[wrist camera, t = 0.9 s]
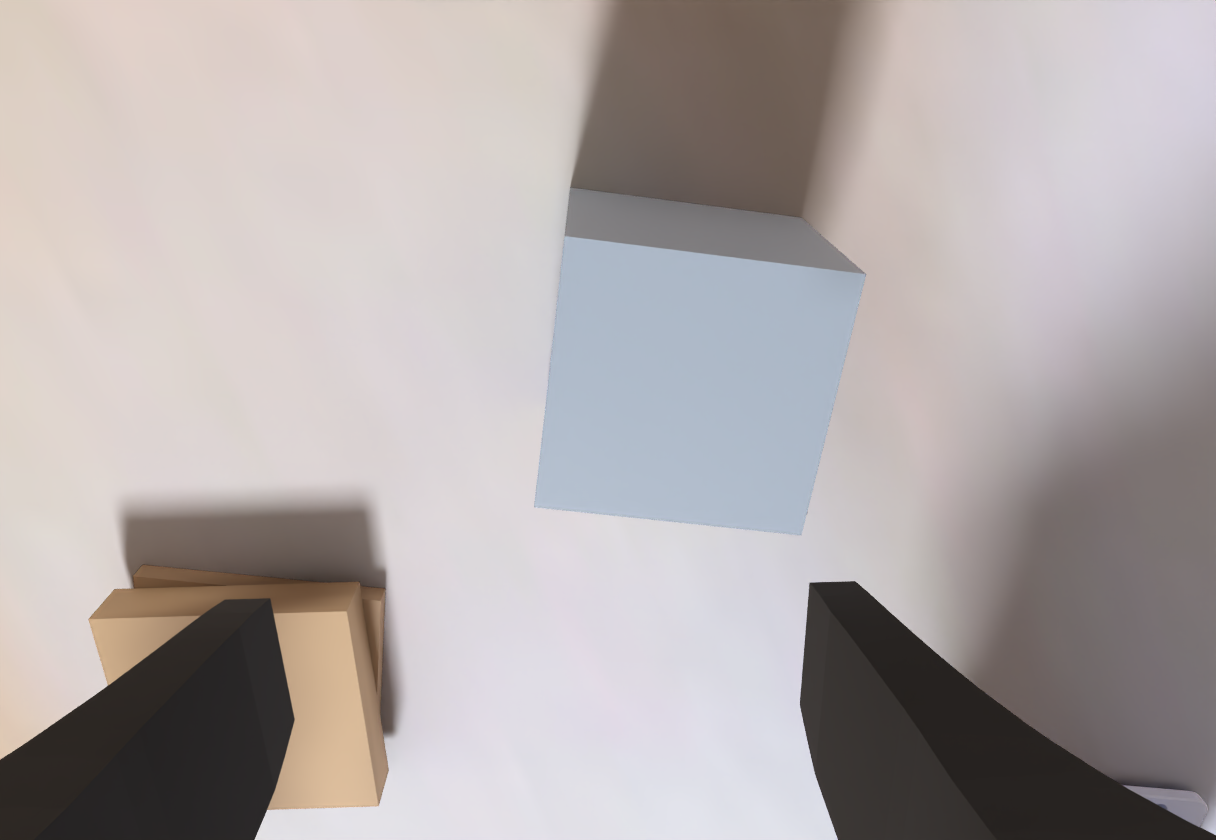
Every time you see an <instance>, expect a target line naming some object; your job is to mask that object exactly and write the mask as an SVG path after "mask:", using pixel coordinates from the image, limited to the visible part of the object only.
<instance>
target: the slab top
mask: <svg viewBox="0 0 1216 840" xmlns="http://www.w3.org/2000/svg"><path fill="white" fill-rule="evenodd" d="M260 598H270V599H271V604H272V609H273V614H274V619H275V624H276V629H277V634H278V639H279V644H280V649H281V654H282V659H283V664H284V668H285V673H286V678H287V683H288V688H289V693H290V698H291V703H292V708H293V713H294V718H295V721H294V725H293V728H292V732H291V736H290V740H289V743H288V747H287V751H286V755H285V758H284V762H283V765H282V769H281V772H280V775H279V779H278V782H277V785H276V789H275V792H274V794H273V797H272V799H271V801H270V804H269V806H268V809H267V810H274V809H306V808H337V807H369V806H379V803H380V799H381V796H382V792H383V789H384V785H385V781H386V778H387V774H388V771H389V769H388V763H387V756H386V750H385V743H384V737H383V731H382V724H381V718H380V711H379V705H378V698H377V692H376V685H375V679H374V672H373V666H372V659H371V653H370V646H369V640H368V633H367V627H366V621H365V614H364V608H363V601H362V595H361V588H360V582H333V583H300V584H267V585H234V586H201V587H169V588H136V589H114V590H113V592H112V593H111V594H110V595H109V596H108V597H107V598H106V600H105V601H104V602H103V603H102V604H101V605H100V607H99V608H98V609H97V610H96V611H95V612H94V613H93V615H92V616H91V617H90V618H89V623H90V626H91V630H92V633H93V636H94V640H95V643H96V646H97V650H98V653H99V657H100V660H101V663H102V667H103V670H104V673H105V677H106V680H107V684H108V685H110V684H111V683H112V682H114V681H115V680H116V679H118V678H119V677H120V676H122V675H123V674H124V673H126V672H127V671H128V670H130V669H131V668H132V667H134V666H135V665H136V664H138V663H139V662H140V661H142V660H143V659H144V658H146V657H147V656H148V655H150V654H151V653H152V652H154V651H155V650H156V649H158V648H159V647H160V646H162V645H163V644H164V643H165V642H167V641H168V640H169V639H171V638H172V637H173V636H175V635H176V634H177V633H179V632H180V631H181V630H183V629H184V628H185V627H187V626H188V625H189V624H191V623H192V622H193V621H195V620H196V619H197V618H199V617H200V616H201V615H203V614H204V613H205V612H207V611H208V610H210V609H211V608H213V607H214V606H216V605H217V604H219V603H220V602H222V601H223V600H225V599H260Z"/></svg>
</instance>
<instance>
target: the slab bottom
mask: <svg viewBox="0 0 1216 840" xmlns="http://www.w3.org/2000/svg"><path fill="white" fill-rule="evenodd" d="M133 582H134V589H136V588H169V587H201V586H234V585H267V584H300V583H324V582H314V581H303V580H293V579H283V578H273V577H263V576H252V575H242V574H232V573H222V572H212V571H201V570H191V569H181V568H171V567H161V566H150V565H142V566H141V567H140V568H139V570H138V571H137V572H136V573H135V574H134V575H133ZM360 588H361V595H362V601H363V608H364V614H365V621H366V627H367V633H368V640H369V646H370V653H371V659H372V666H373V672H374V679H375V685H376V692H377V698H378V705H379V711H380V709H381V685H382V660H383V636H384V612H385V588H375V587H364V586H360Z"/></svg>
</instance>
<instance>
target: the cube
mask: <svg viewBox="0 0 1216 840" xmlns="http://www.w3.org/2000/svg"><path fill="white" fill-rule="evenodd" d="M865 277H866V274H865V273H864V272H863V271H862V270H861V269H860V268H858V267H857V266H856V265H855V264H854V263H853V262H852V261H850V260H849V259H848V258H847V257H846V256H845V255H844V254H842V253H841V252H840V251H839V250H838V249H837V248H836V247H834V246H833V245H832V244H831V243H830V242H829V241H828V240H826V239H825V238H824V237H823V236H822V235H821V234H820V233H818V232H817V231H816V230H815V229H814V228H813V227H812V226H810V225H809V224H808V223H807V222H806V221H805V220H804V219H802V218H801V217H793V216H785V215H778V214H770V213H762V212H755V211H747V210H739V209H732V208H724V207H716V206H709V205H701V204H693V203H686V202H678V201H671V200H663V199H655V198H648V197H640V196H632V195H625V194H617V193H609V192H602V191H594V190H586V189H579V188H571V187H570V194H569V203H568V212H567V220H566V229H565V238H564V247H563V256H562V265H561V273H560V282H559V291H558V300H557V309H556V318H555V327H554V336H553V344H552V353H551V362H550V371H549V380H548V389H547V398H546V407H545V415H544V424H543V433H542V442H541V451H540V460H539V469H538V478H537V486H536V495H535V504H534V507H537V508H546V509H556V510H565V511H575V512H584V513H594V514H603V515H613V516H622V517H632V518H641V519H651V520H660V521H670V522H679V523H689V524H698V525H707V526H717V527H726V528H736V529H745V530H755V531H764V532H774V533H783V534H793V535H802V531H803V526H804V522H805V518H806V514H807V510H808V506H809V502H810V498H811V494H812V490H813V486H814V482H815V478H816V474H817V470H818V466H819V462H820V458H821V454H822V450H823V446H824V442H825V438H826V434H827V430H828V426H829V422H830V418H831V414H832V410H833V406H834V402H835V398H836V394H837V390H838V386H839V382H840V378H841V373H842V369H843V365H844V361H845V357H846V353H847V349H848V345H849V341H850V337H851V333H852V329H853V325H854V321H855V317H856V313H857V309H858V305H859V301H860V297H861V293H862V289H863V285H864V281H865Z"/></svg>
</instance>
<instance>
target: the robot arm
mask: <svg viewBox="0 0 1216 840" xmlns="http://www.w3.org/2000/svg"><path fill="white" fill-rule="evenodd" d="M800 707H801V712H802V717H803V722H804V726H805V731H806V736H807V741H808V745H809V749H810V754H811V758H812V762H813V767H814V771H815V775H816V778H817V781H818V784H819V787H820V790H821V792H822V795H823V798H824V801H825V804H826V807H827V809H828V812H829V815H830V818H831V821H832V824H833V827H834V829H835V832H836V835H837V838H838V840H1216V835H1214V834H1212V833H1210V832H1208V831H1206V830H1204V829H1202V828H1200V826H1201V824H1202V822H1203V820H1204V818H1205V816H1206V814H1207V811H1208V807H1207V804H1206V803H1205V801H1204V800H1203V799H1202V798H1201V796H1200V795H1198V794H1197V793H1196V792H1192V791H1184V790H1173V789H1161V788H1150V787H1138V786H1127V785H1121V784H1119V783H1118V782H1116V781H1114V780H1113V779H1111V778H1109V777H1107V776H1106V775H1104V774H1102V773H1101V772H1099V771H1097V770H1096V769H1094V768H1093V767H1091V766H1090V765H1088V764H1087V763H1085V762H1083V761H1082V760H1080V759H1079V758H1077V757H1076V756H1074V755H1073V754H1071V753H1069V752H1068V751H1066V750H1065V749H1063V748H1062V747H1060V746H1059V745H1057V744H1055V743H1054V742H1052V741H1051V740H1049V739H1048V738H1046V737H1045V736H1043V735H1042V734H1040V733H1039V732H1038V731H1036V730H1035V729H1033V728H1032V727H1030V726H1029V725H1027V724H1026V723H1025V722H1023V721H1022V720H1021V719H1019V718H1018V717H1017V716H1015V715H1014V714H1013V713H1011V712H1010V711H1009V710H1007V709H1006V708H1005V707H1003V706H1002V705H1000V704H999V703H998V702H996V701H995V700H994V699H992V698H991V697H990V696H988V695H987V694H986V693H984V692H983V691H982V690H981V689H979V688H978V687H977V686H976V685H974V684H973V683H972V682H971V681H969V680H968V679H967V678H966V677H964V676H963V675H962V674H961V673H959V672H958V671H957V670H956V669H955V668H953V667H952V666H951V665H950V664H948V663H947V662H946V661H945V660H944V659H943V658H941V657H940V656H939V655H938V654H937V653H935V652H934V651H933V650H932V649H931V648H930V647H929V646H927V645H926V644H925V643H924V642H923V641H922V640H920V639H919V638H918V637H917V636H916V635H915V634H914V633H913V632H911V631H910V630H909V629H908V628H907V627H906V626H905V625H904V624H902V623H901V622H900V621H899V620H898V619H897V618H896V617H895V616H894V615H892V614H891V613H890V612H889V611H888V610H887V609H886V608H885V607H884V606H882V605H881V604H880V603H879V602H878V601H877V600H876V599H875V598H874V597H873V596H871V595H870V594H869V593H868V592H867V591H866V590H865V589H864V588H862V587H861V586H860V585H859V584H858V583H856V582H855V581H851V582H817V583H810V585H809V597H808V610H807V622H806V635H805V647H804V660H803V672H802V685H801V697H800ZM294 721H295V718H294V713H293V708H292V703H291V698H290V693H289V688H288V683H287V678H286V673H285V668H284V664H283V659H282V654H281V649H280V644H279V639H278V634H277V629H276V624H275V619H274V614H273V609H272V604H271V599H270V598H260V599H225V600H223V601H222V602H220V603H219V604H217V605H216V606H214V607H213V608H211V609H210V610H208V611H207V612H205V613H204V614H203V615H201V616H200V617H199V618H197V619H196V620H195V621H193V622H192V623H191V624H189V625H188V626H187V627H185V628H184V629H183V630H181V631H180V632H179V633H177V634H176V635H175V636H173V637H172V638H171V639H169V640H168V641H167V642H165V643H164V644H163V645H162V646H160V647H159V648H158V649H156V650H155V651H154V652H152V653H151V654H150V655H148V656H147V657H146V658H144V659H143V660H142V661H140V662H139V663H138V664H136V665H135V666H134V667H132V668H131V669H130V670H128V671H127V672H126V673H124V674H123V675H122V676H120V677H119V678H118V679H116V680H115V681H114V682H112V683H111V684H110V685H108V686H107V687H106V688H104V689H103V690H102V691H100V692H99V693H97V694H96V695H95V696H93V697H92V698H90V699H89V700H87V701H86V702H85V703H83V704H82V705H80V706H79V707H77V708H76V709H74V710H73V711H72V712H70V713H69V714H67V715H66V716H64V717H63V718H61V719H60V720H59V721H57V722H56V723H54V724H53V725H51V726H50V727H48V728H47V729H46V730H44V731H43V732H41V733H40V734H38V735H37V736H36V737H34V738H33V739H31V740H30V741H28V742H27V743H25V744H24V745H22V746H21V747H19V748H18V749H16V750H15V751H13V752H12V753H10V754H8V755H7V756H5V757H4V758H2V759H1V760H0V840H254V839H255V837H256V835H257V832H258V830H259V828H260V825H261V823H262V821H263V818H264V816H265V813H266V811H267V809H268V806H269V804H270V801H271V799H272V797H273V794H274V792H275V789H276V785H277V782H278V779H279V775H280V772H281V769H282V765H283V762H284V758H285V755H286V751H287V747H288V743H289V740H290V736H291V732H292V728H293V725H294Z"/></svg>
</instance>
